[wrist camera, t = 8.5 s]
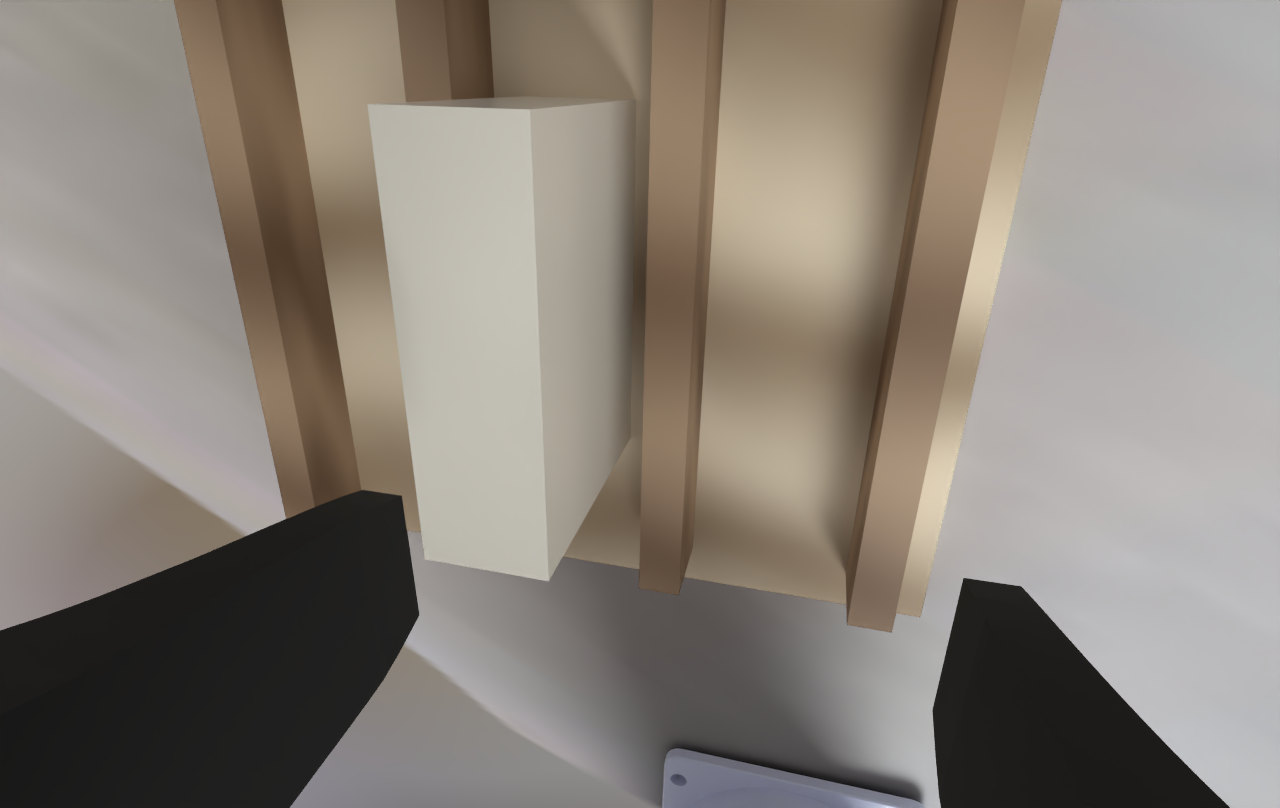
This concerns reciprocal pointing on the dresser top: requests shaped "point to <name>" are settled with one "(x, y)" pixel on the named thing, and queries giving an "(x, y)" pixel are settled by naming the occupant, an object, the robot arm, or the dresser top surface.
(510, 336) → the cream slab
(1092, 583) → the dresser top surface
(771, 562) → the dish rack
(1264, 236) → the dresser top surface
